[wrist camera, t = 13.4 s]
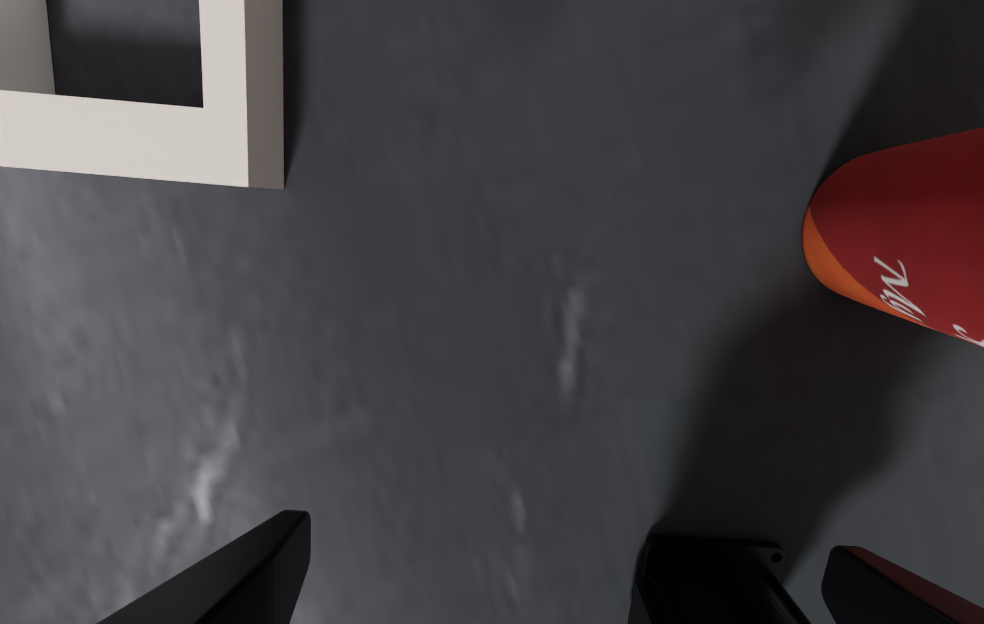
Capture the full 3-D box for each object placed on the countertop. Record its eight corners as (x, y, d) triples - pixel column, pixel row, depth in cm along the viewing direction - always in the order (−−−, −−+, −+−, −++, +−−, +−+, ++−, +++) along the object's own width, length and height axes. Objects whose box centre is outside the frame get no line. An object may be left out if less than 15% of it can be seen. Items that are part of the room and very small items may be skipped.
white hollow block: (281, -69, 18) (241, -122, 15) (284, 189, 20) (248, 187, 17) (-5, -97, 17) (-104, -158, 14) (26, 167, 19) (-56, 161, 16)
